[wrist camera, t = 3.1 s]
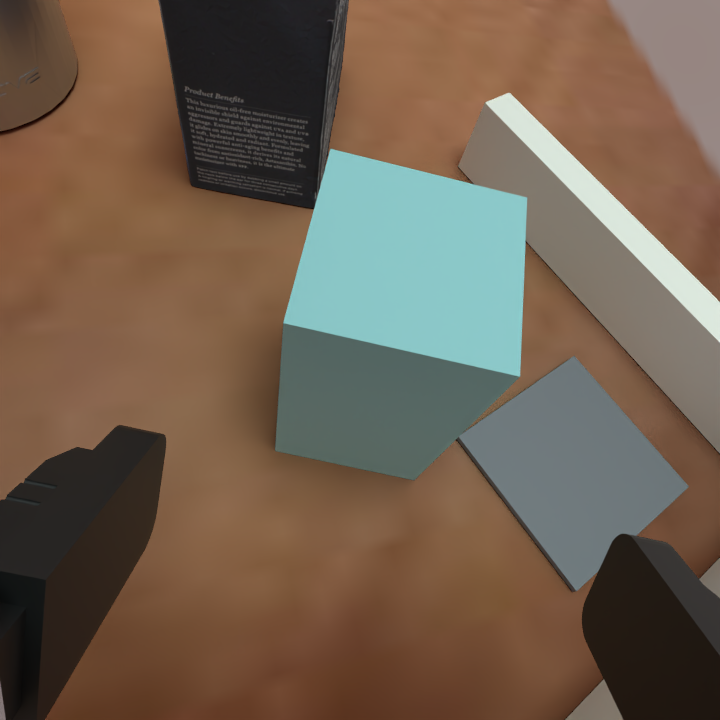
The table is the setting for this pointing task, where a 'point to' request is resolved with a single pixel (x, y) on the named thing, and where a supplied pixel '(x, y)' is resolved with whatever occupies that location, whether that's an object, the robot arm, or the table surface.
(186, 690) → the table surface
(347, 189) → the teal block
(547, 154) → the white l-shaped bracket
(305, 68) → the small box
